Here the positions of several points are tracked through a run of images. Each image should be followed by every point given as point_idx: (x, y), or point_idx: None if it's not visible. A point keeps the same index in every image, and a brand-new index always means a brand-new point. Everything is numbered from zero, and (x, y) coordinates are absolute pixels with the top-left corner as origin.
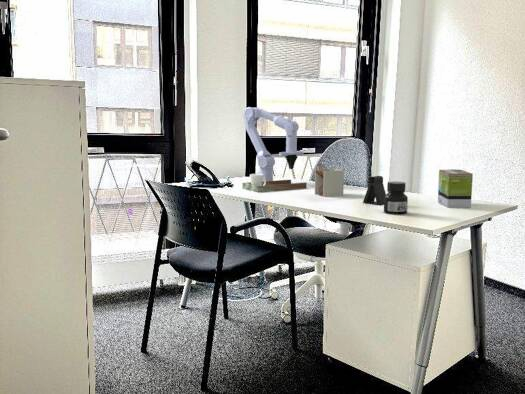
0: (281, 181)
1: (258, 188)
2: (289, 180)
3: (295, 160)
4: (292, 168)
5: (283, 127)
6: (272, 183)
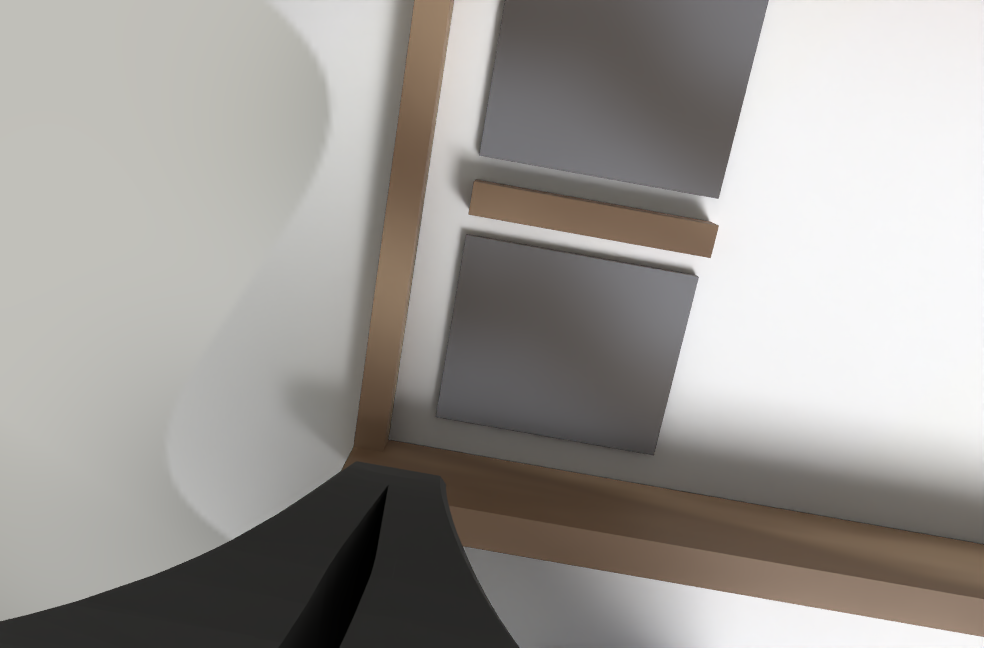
0: (592, 519)
1: None
2: None
3: (124, 600)
4: (388, 469)
5: None
6: (812, 542)
